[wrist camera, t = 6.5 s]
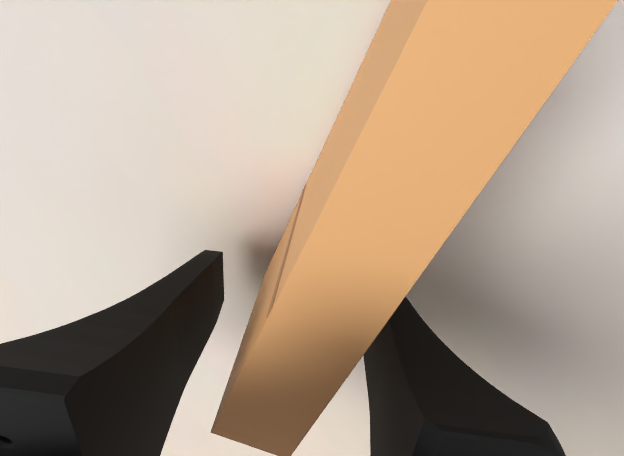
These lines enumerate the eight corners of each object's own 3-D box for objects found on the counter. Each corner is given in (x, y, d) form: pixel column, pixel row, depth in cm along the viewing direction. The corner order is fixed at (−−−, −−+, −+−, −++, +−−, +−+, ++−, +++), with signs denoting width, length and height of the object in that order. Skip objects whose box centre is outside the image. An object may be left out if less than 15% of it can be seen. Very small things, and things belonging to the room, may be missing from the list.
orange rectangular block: (312, 292, 15) (288, 459, 9) (264, 273, 15) (209, 432, 9) (478, -7, 10) (660, -56, 4) (410, -43, 10) (501, -151, 4)
